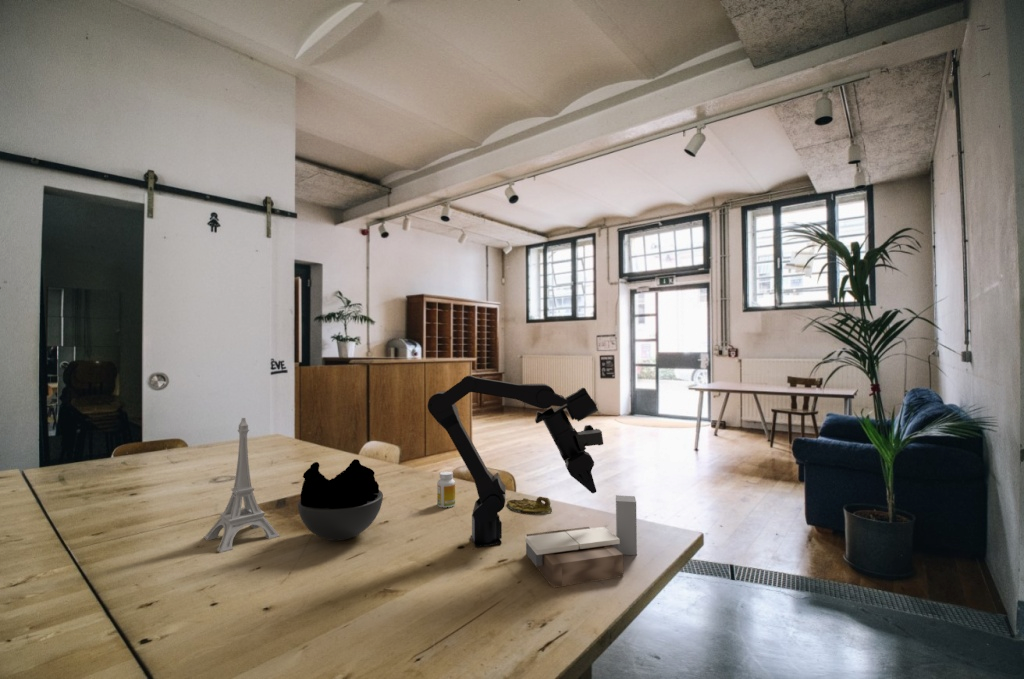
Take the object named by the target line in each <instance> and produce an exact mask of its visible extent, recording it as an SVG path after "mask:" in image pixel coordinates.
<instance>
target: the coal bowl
mask: <svg viewBox="0 0 1024 679" xmlns="http://www.w3.org/2000/svg"><path fill="white" fill-rule="evenodd" d="M319 468H320V463H319V462H318V461H315V462H313V463H312V464H310V467H309V468H308V469H306V471H304V472H303V475H302V478H303V479H304V480H303V483H302V486H301V487H302V488H301V491H300V496H299V497H300V499H299V500H298V502H297V508H298V513H299V514H298V515H299V516H300V519H301V521H302V523H303V525H304V526H305V527H306V528H307V529H308V531H309V532H311V533H312V534H313V535H315V536H316V537H319V538H320V539H324V540H327V541H343V540H344V541H345V540H348V539H351V538H354V537H356V536H357V535H359V534H361V533H363V532H364V531H365V530H366V529H367V528H369V527H370V526H371V525H372V524H373V522H374V521H375V519H376V518H377V517H378V514H379V512H380V510H381V508H382V503H383V499H384V495H383V494H384V493H383V491H382V490H380V489H379V488H380V485H379V483H378V481H377V480H376V478H375V471H374V470H373V469H372V468H370V467H367V466H365V465H363V464H361V461H360V459H358V458H356V459H353V460H352V461H351V462H350V463H349V465H348V466H347V467H346V468H345V469H343V471H341V472H340V473H339V474H336V475H335V477H333V478H331V479H328V478H326V477H325V476H326V475H324V474H322V473H321V471H320V469H319Z"/></svg>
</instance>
